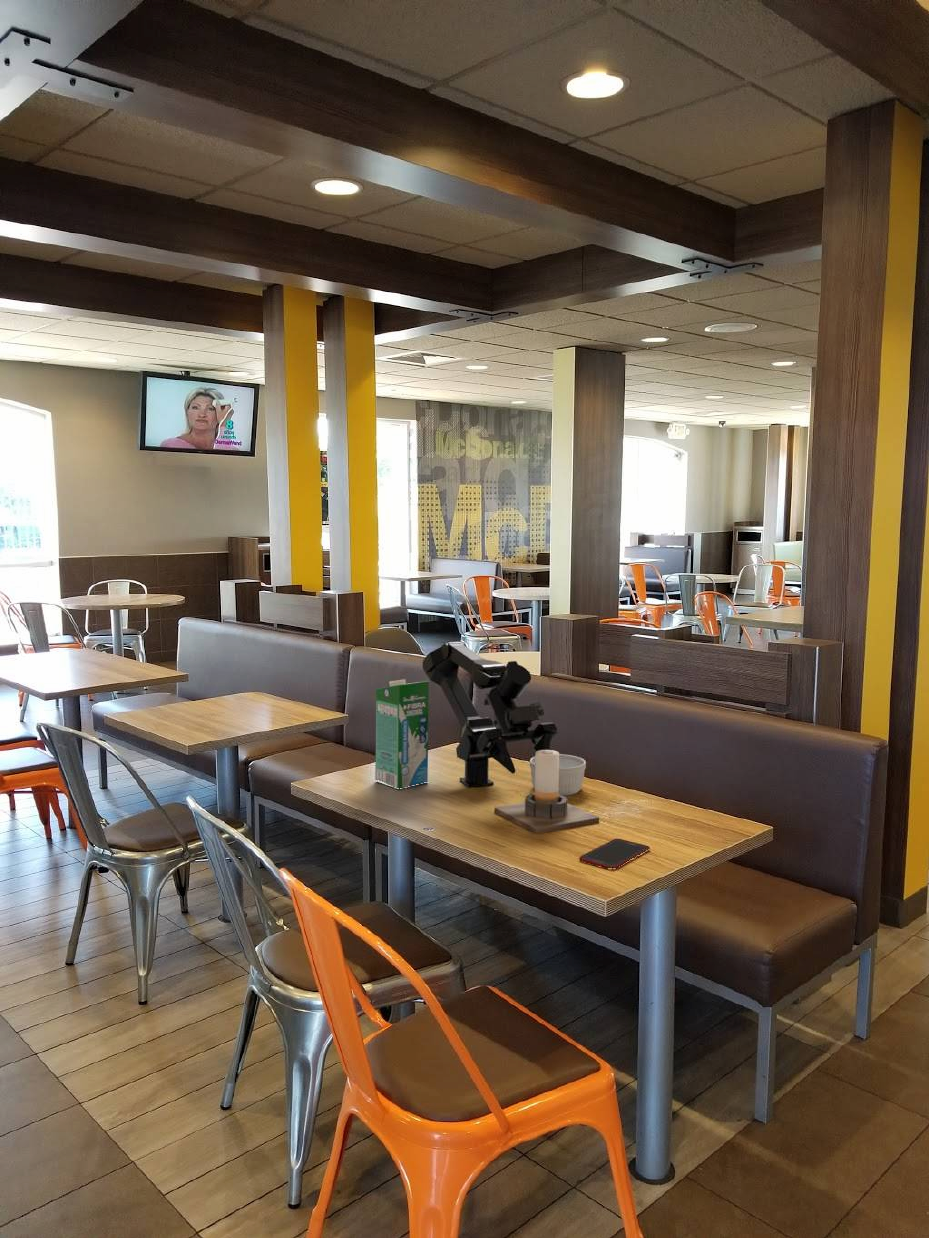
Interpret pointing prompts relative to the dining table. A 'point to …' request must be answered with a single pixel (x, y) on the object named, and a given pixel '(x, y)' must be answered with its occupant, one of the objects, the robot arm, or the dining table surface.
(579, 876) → the dining table surface
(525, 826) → the roll holder stand
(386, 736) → the milk carton
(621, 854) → the cell phone
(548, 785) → the paper roll
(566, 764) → the ramekin
